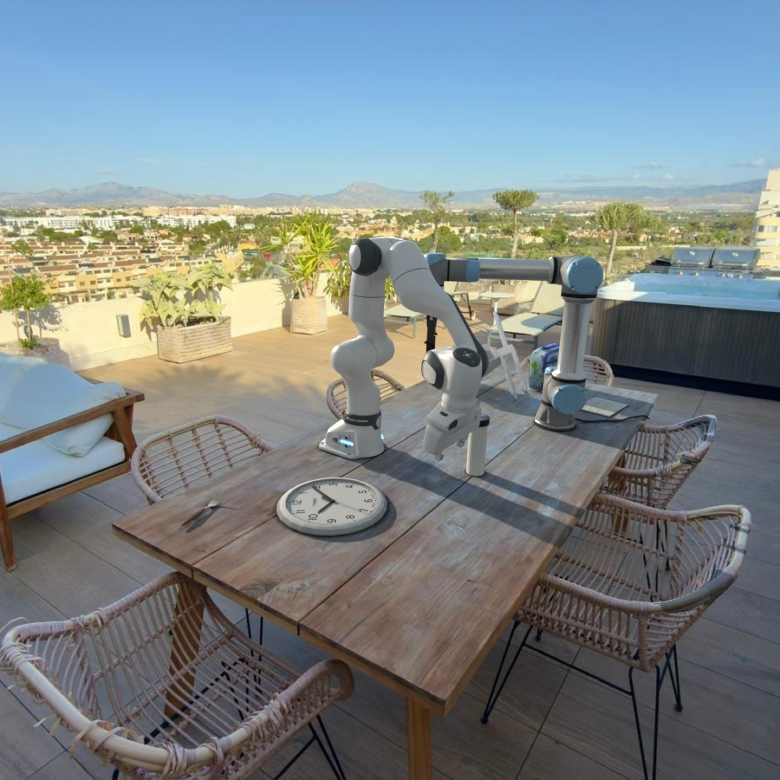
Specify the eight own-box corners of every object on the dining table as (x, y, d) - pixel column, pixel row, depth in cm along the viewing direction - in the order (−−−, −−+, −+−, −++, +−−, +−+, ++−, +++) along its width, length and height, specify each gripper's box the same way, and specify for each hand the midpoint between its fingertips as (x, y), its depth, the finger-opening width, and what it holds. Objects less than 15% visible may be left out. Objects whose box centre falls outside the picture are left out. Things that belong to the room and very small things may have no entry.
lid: (490, 420, 161) (490, 414, 160) (488, 428, 155) (488, 421, 154) (469, 418, 163) (470, 412, 162) (466, 425, 157) (467, 419, 156)
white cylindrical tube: (485, 469, 166) (489, 416, 160) (482, 477, 160) (487, 422, 155) (467, 467, 167) (471, 414, 162) (465, 474, 162) (468, 420, 157)
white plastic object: (461, 429, 252) (437, 405, 227) (444, 352, 274) (420, 323, 250) (535, 404, 240) (518, 377, 215) (510, 326, 262) (492, 293, 237)
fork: (176, 526, 131) (176, 519, 130) (217, 497, 145) (217, 491, 145) (185, 528, 130) (184, 521, 130) (225, 499, 145) (224, 492, 144)
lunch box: (544, 395, 239) (549, 351, 233) (524, 390, 247) (528, 347, 240) (571, 384, 257) (577, 343, 251) (552, 380, 264) (556, 339, 258)
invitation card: (608, 416, 214) (573, 407, 224) (608, 416, 214) (573, 408, 224) (628, 404, 229) (594, 396, 238) (628, 405, 229) (594, 397, 238)
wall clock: (392, 527, 129) (268, 531, 127) (391, 533, 130) (269, 537, 127) (383, 473, 158) (282, 475, 155) (383, 478, 158) (282, 480, 156)
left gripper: (471, 391, 142) (463, 433, 149) (422, 418, 129) (416, 462, 136) (490, 401, 139) (481, 443, 146) (442, 429, 126) (434, 474, 133)
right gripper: (424, 293, 195) (422, 349, 202) (419, 302, 172) (417, 365, 178) (444, 294, 195) (441, 350, 201) (442, 303, 171) (439, 366, 177)
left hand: (449, 452), depth 141 cm, fingers open, 8 cm apart
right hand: (430, 357), depth 190 cm, fingers open, 13 cm apart
